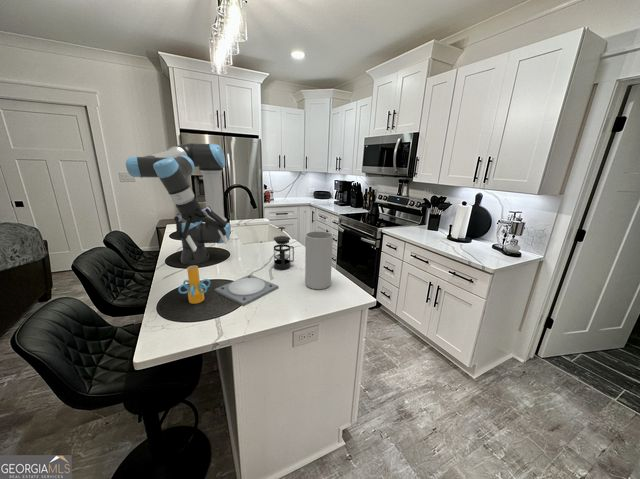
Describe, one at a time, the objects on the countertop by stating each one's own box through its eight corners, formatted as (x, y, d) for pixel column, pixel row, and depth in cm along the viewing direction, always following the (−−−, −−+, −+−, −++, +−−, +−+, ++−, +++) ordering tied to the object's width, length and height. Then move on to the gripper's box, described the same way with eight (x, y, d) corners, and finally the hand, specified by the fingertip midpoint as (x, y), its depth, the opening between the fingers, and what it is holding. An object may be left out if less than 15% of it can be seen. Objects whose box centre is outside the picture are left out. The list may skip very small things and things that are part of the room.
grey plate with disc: (214, 291, 115) (214, 287, 114) (250, 276, 130) (250, 272, 130) (243, 306, 104) (243, 301, 103) (278, 288, 119) (278, 283, 119)
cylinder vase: (328, 291, 118) (330, 239, 110) (302, 288, 120) (302, 237, 112) (332, 279, 129) (334, 232, 122) (308, 277, 131) (308, 230, 124)
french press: (273, 271, 138) (272, 229, 131) (272, 264, 147) (270, 225, 140) (294, 269, 141) (294, 229, 134) (292, 263, 150) (292, 224, 143)
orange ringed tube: (217, 297, 110) (214, 265, 106) (199, 309, 101) (194, 274, 96) (194, 292, 114) (190, 260, 110) (175, 303, 104) (170, 269, 100)
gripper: (149, 213, 93) (179, 258, 104) (214, 196, 92) (237, 243, 104) (157, 204, 99) (185, 248, 111) (219, 188, 99) (240, 233, 110)
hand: (210, 245), depth 107 cm, fingers open, 13 cm apart
